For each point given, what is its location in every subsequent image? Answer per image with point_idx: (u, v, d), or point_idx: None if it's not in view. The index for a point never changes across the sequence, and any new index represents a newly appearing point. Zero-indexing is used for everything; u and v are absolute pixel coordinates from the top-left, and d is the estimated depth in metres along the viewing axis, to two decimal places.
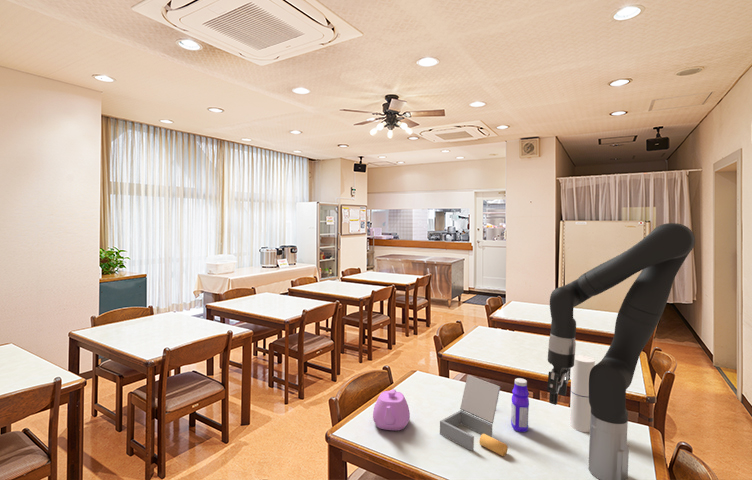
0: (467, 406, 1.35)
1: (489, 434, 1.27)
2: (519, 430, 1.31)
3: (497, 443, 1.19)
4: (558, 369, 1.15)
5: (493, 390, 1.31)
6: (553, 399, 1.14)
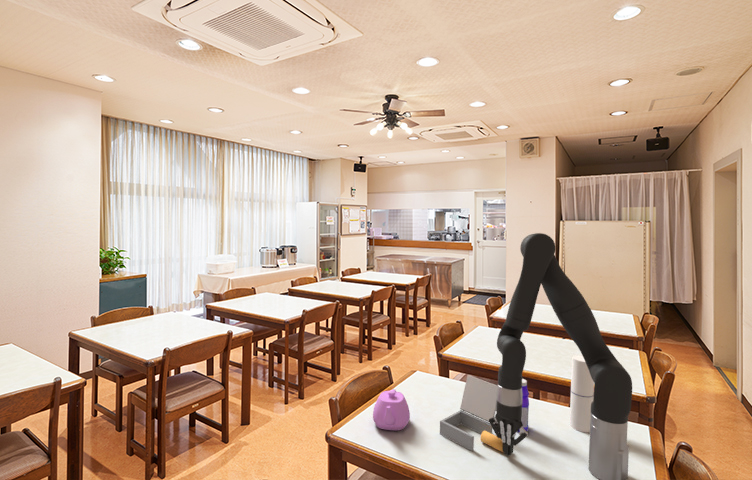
0: (467, 406, 1.35)
1: None
2: (519, 430, 1.31)
3: None
4: None
5: (493, 390, 1.31)
6: (512, 450, 1.16)
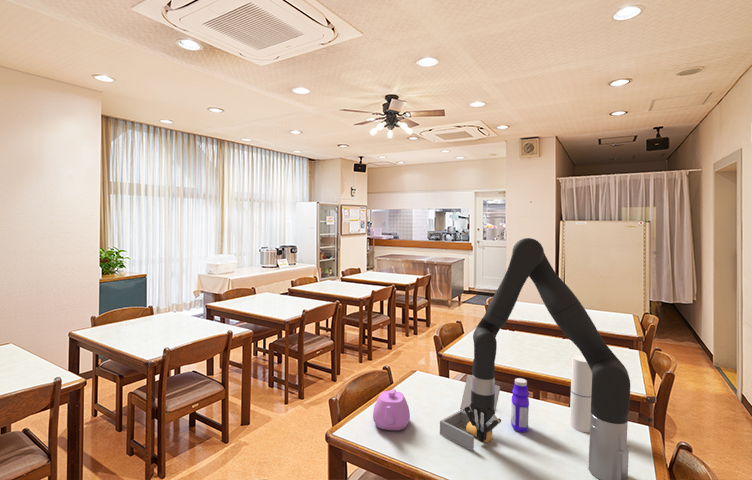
0: None
1: None
2: (519, 430, 1.31)
3: None
4: (493, 408, 1.21)
5: None
6: (485, 436, 1.23)
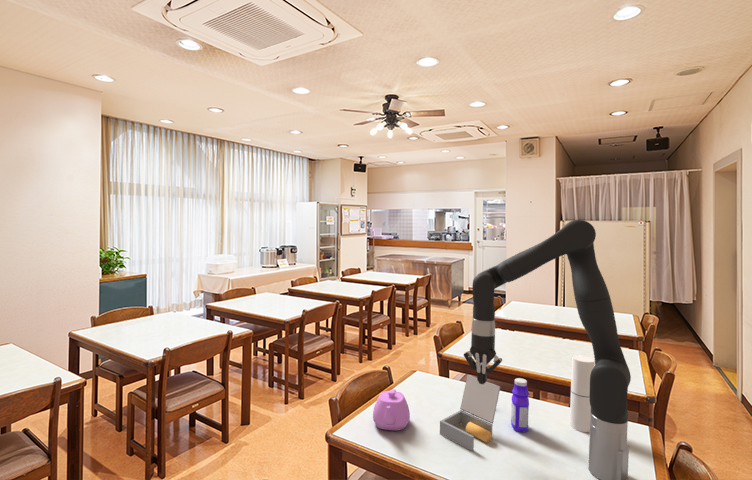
0: (467, 406, 1.35)
1: None
2: (519, 430, 1.31)
3: (483, 429, 1.27)
4: (494, 349, 1.24)
5: (493, 390, 1.31)
6: (486, 378, 1.25)
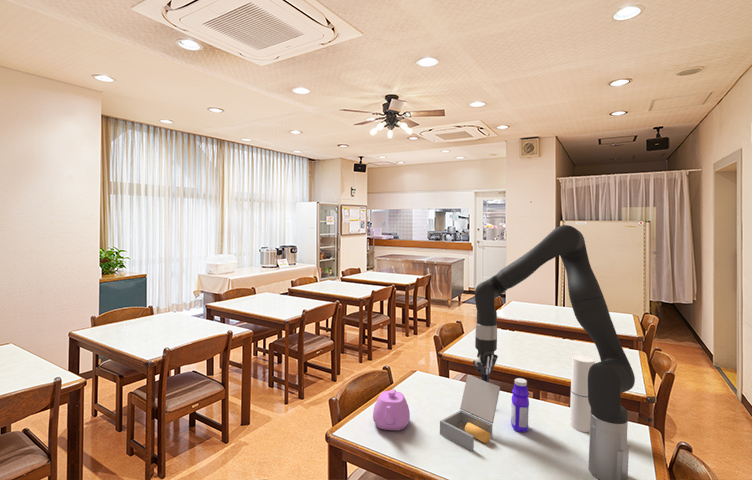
0: (467, 406, 1.35)
1: None
2: (519, 430, 1.31)
3: (481, 430, 1.26)
4: None
5: (493, 390, 1.31)
6: None
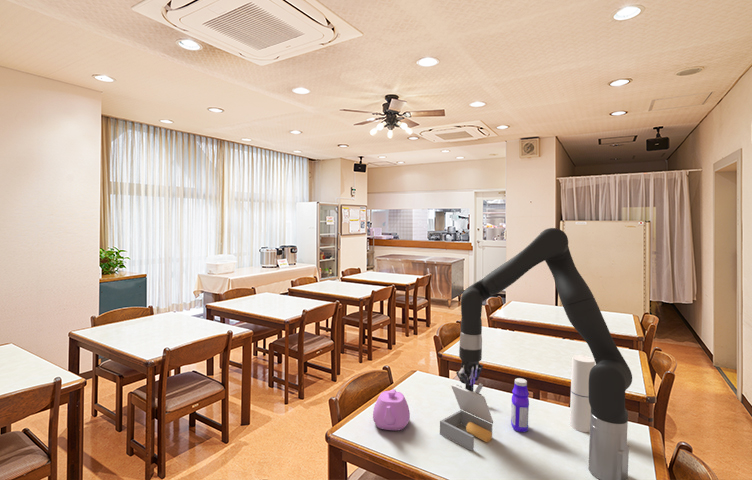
0: (465, 408, 1.34)
1: None
2: (519, 430, 1.31)
3: None
4: None
5: (479, 400, 1.25)
6: None
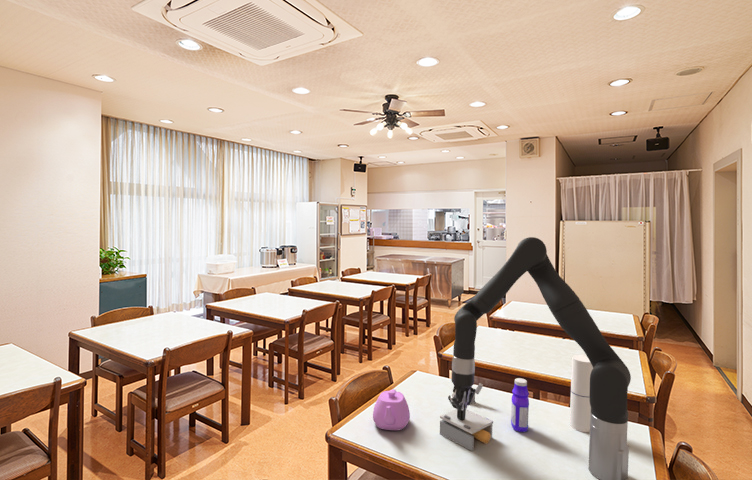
0: None
1: None
2: (519, 430, 1.31)
3: (480, 430, 1.26)
4: None
5: None
6: None
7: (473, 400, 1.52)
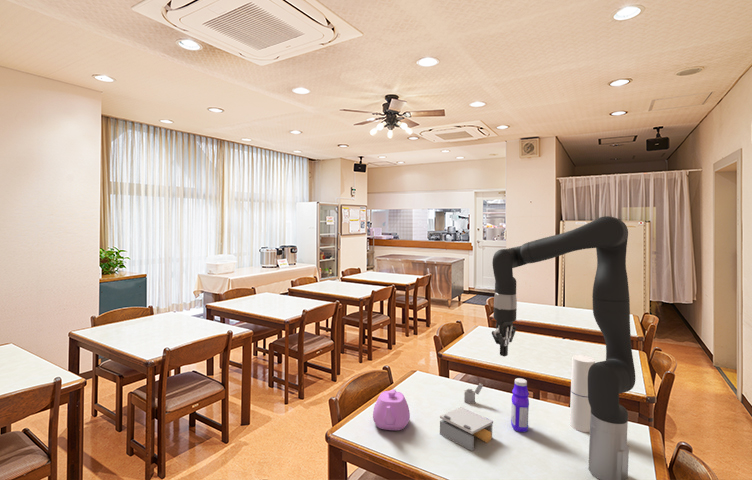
0: None
1: None
2: (519, 430, 1.31)
3: (483, 428, 1.27)
4: None
5: None
6: None
7: (473, 400, 1.52)
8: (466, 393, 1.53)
